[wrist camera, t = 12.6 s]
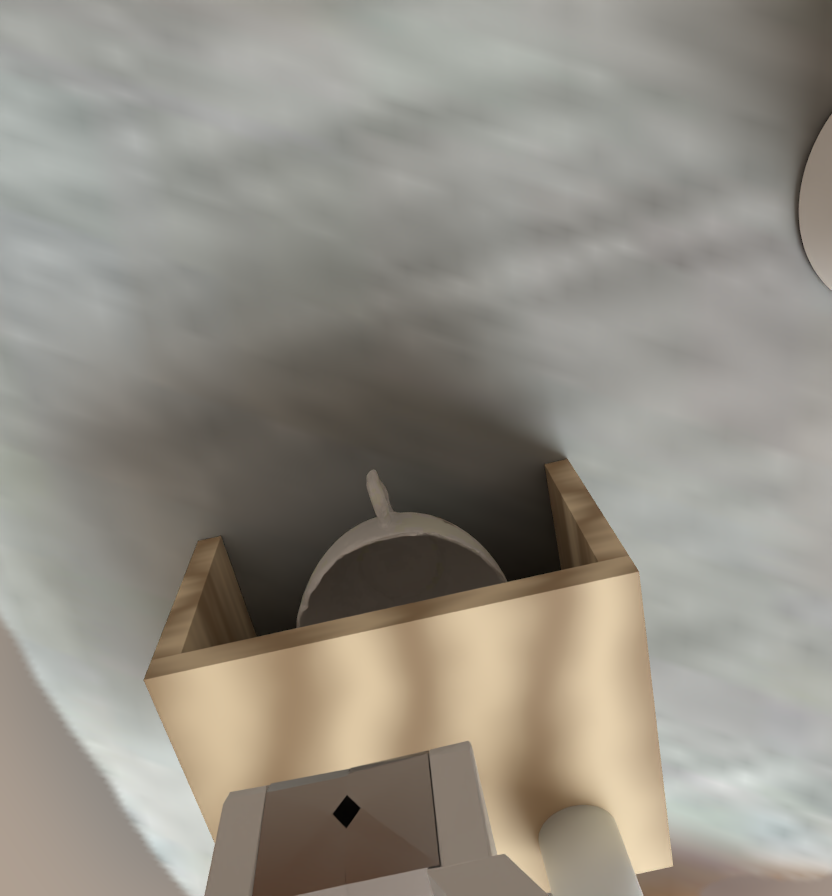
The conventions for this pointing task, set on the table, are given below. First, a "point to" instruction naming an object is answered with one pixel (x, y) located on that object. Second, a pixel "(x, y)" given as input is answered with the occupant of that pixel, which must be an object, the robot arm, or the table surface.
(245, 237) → the table surface
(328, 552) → the teacup
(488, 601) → the wooden bridge shelf
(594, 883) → the rounded upright piece
